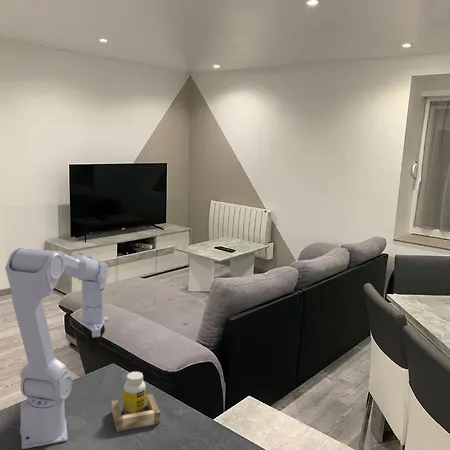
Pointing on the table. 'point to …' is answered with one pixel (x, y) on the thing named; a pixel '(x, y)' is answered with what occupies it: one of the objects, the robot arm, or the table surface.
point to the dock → (136, 416)
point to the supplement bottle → (134, 394)
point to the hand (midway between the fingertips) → (93, 351)
